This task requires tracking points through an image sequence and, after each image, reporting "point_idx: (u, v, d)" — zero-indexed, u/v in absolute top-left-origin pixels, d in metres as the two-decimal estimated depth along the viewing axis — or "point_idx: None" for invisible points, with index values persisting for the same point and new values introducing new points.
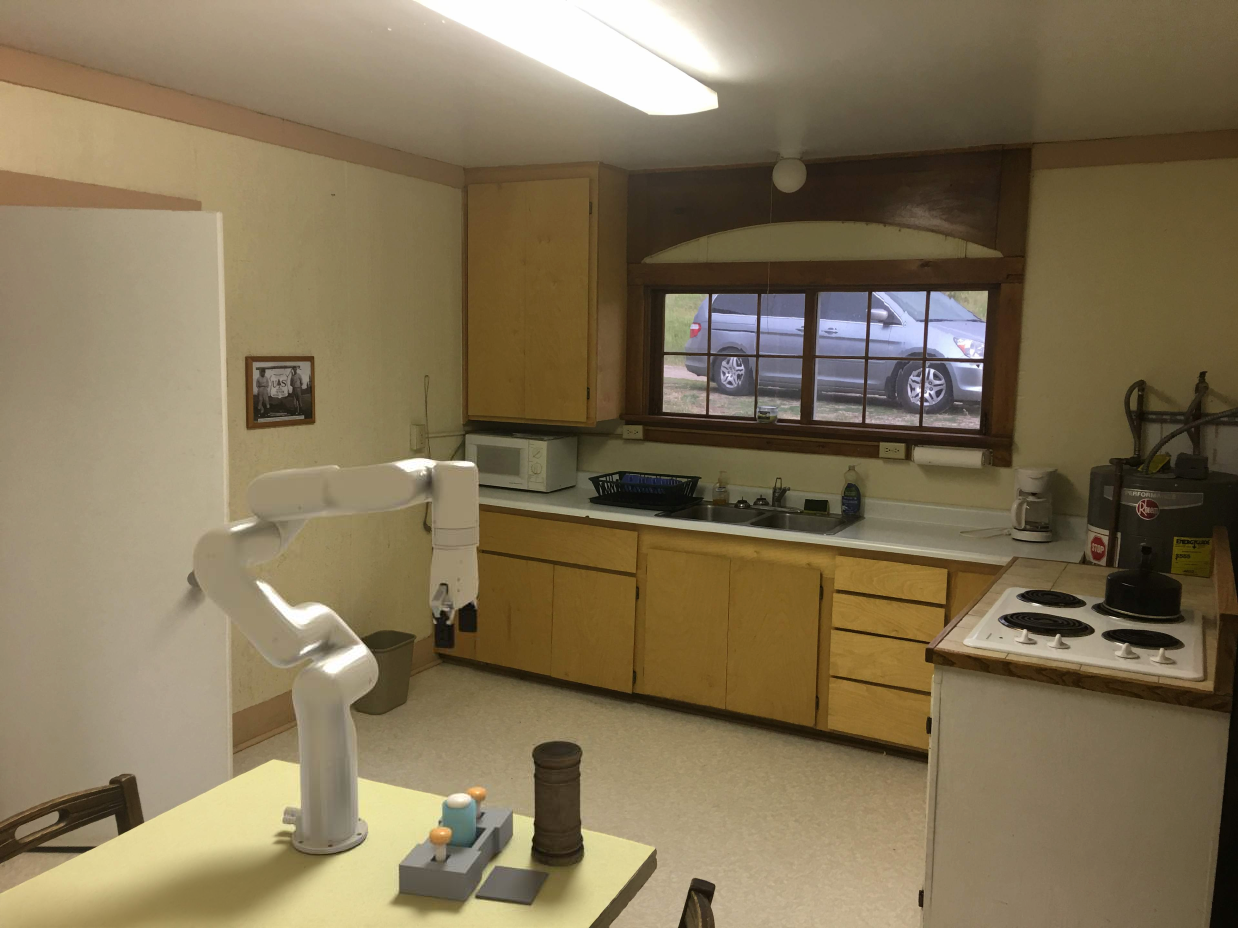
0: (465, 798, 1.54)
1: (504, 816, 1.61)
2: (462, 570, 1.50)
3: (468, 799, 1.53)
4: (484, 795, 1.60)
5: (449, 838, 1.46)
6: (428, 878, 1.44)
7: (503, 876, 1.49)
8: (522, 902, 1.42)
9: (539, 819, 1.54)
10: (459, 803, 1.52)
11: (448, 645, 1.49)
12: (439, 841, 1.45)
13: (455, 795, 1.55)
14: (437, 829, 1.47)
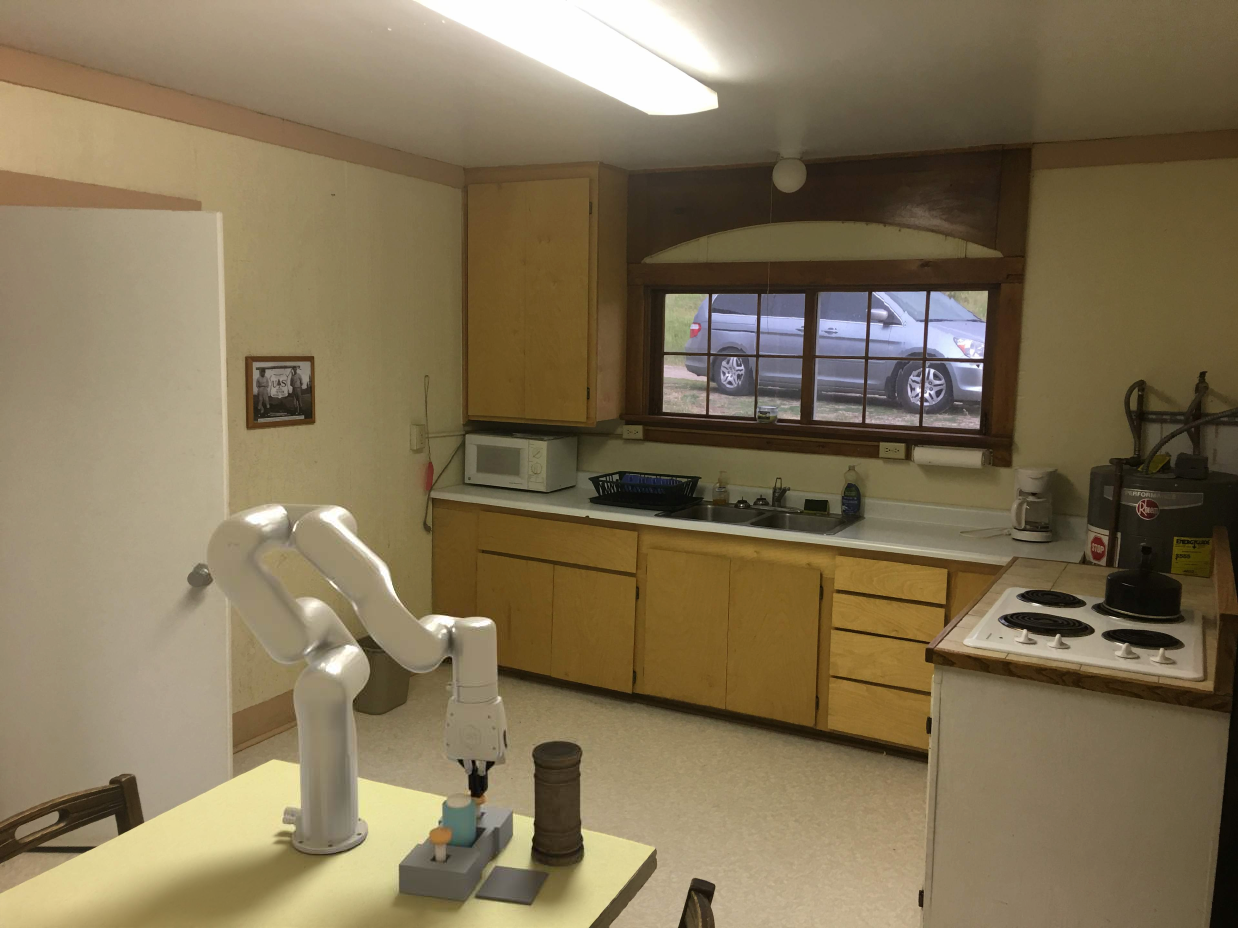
0: (465, 798, 1.54)
1: (504, 816, 1.61)
2: None
3: (468, 799, 1.53)
4: (484, 798, 1.61)
5: (449, 838, 1.46)
6: (428, 878, 1.44)
7: (503, 876, 1.49)
8: (522, 902, 1.42)
9: (539, 819, 1.54)
10: (459, 803, 1.52)
11: None
12: (439, 841, 1.45)
13: (455, 795, 1.55)
14: (437, 829, 1.47)
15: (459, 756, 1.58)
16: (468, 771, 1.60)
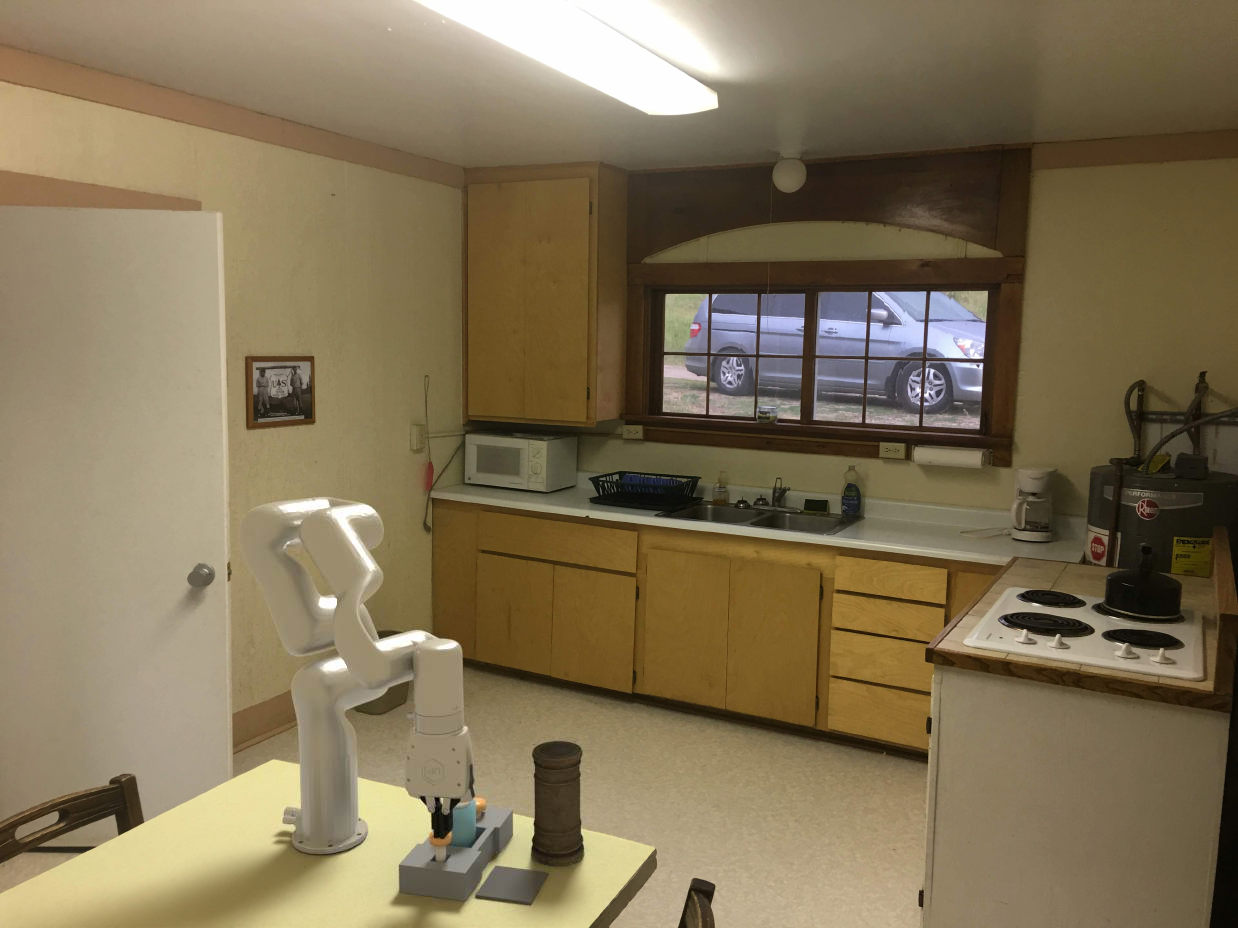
0: None
1: (504, 816, 1.61)
2: None
3: None
4: (484, 806, 1.61)
5: (449, 840, 1.46)
6: (428, 878, 1.44)
7: (503, 876, 1.49)
8: (522, 902, 1.42)
9: (539, 819, 1.54)
10: (459, 803, 1.52)
11: None
12: (439, 843, 1.45)
13: None
14: None
15: (421, 792, 1.43)
16: (431, 809, 1.45)
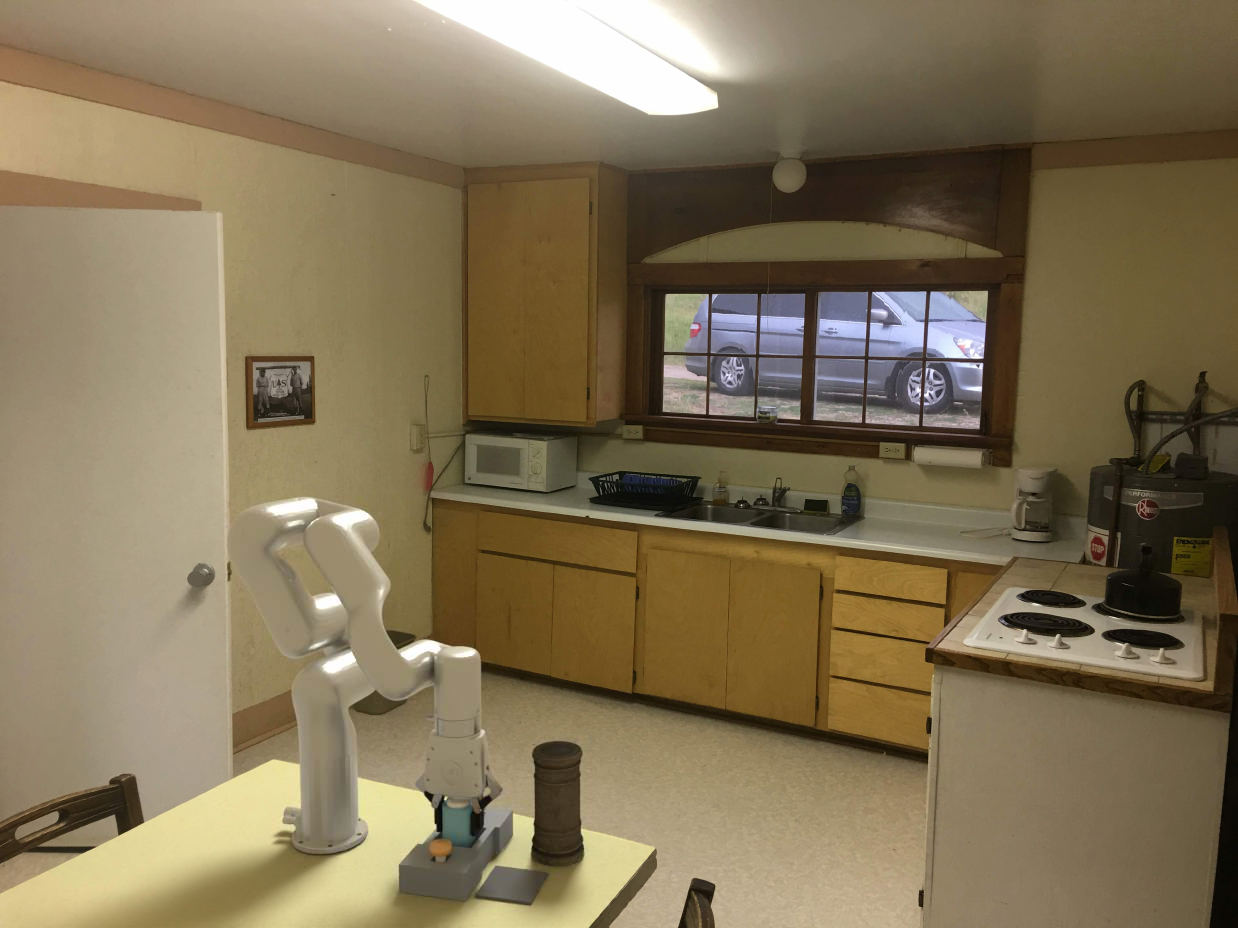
0: (465, 798, 1.54)
1: (504, 816, 1.61)
2: None
3: (468, 799, 1.53)
4: None
5: (449, 850, 1.46)
6: (428, 878, 1.44)
7: (503, 876, 1.49)
8: (522, 902, 1.42)
9: (539, 819, 1.54)
10: (459, 803, 1.52)
11: None
12: (439, 853, 1.45)
13: None
14: (437, 841, 1.48)
15: (439, 792, 1.51)
16: (434, 805, 1.53)
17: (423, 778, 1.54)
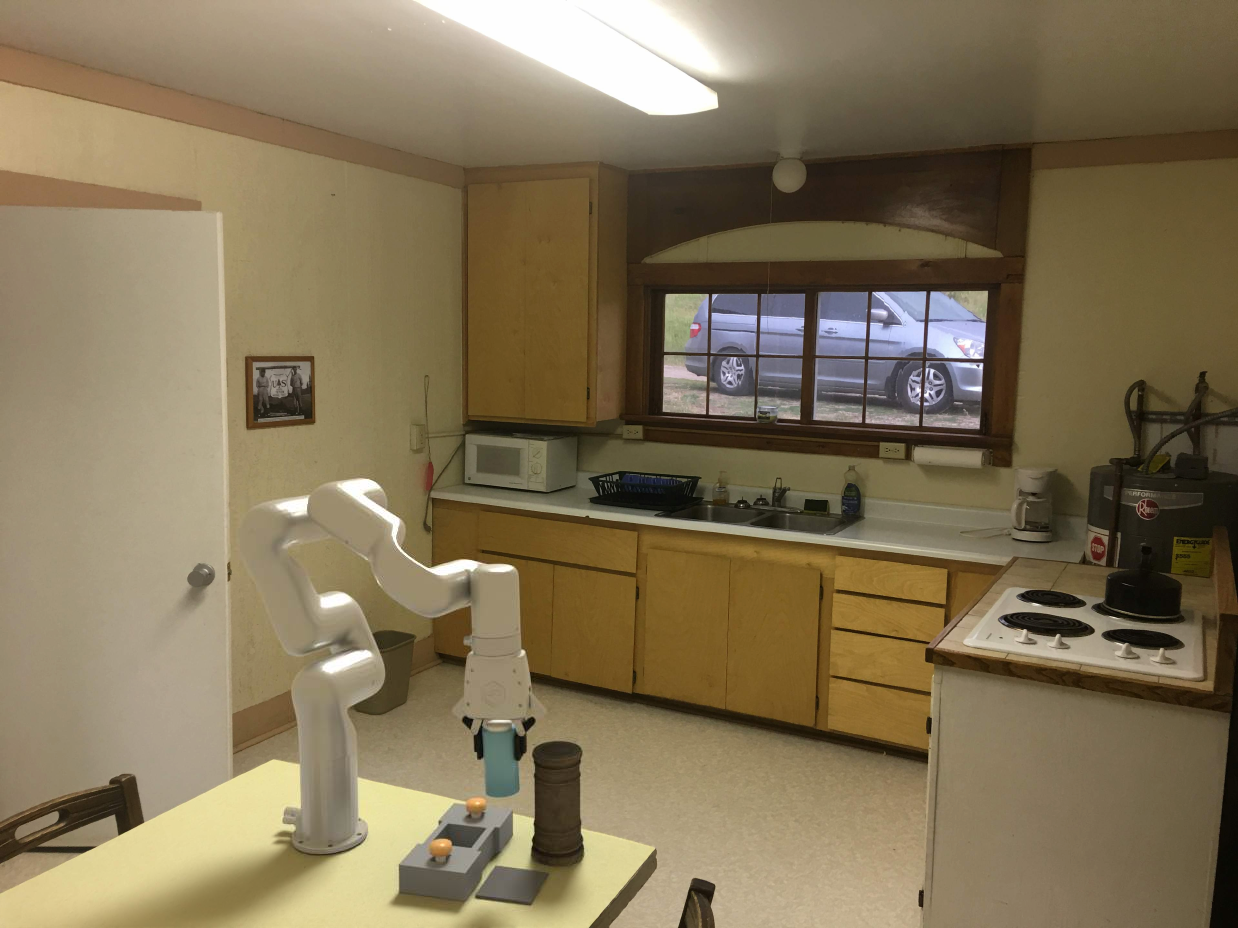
0: (505, 722, 1.47)
1: (504, 816, 1.61)
2: None
3: (509, 723, 1.47)
4: (484, 806, 1.61)
5: (449, 850, 1.46)
6: (428, 878, 1.44)
7: (503, 876, 1.49)
8: (522, 902, 1.42)
9: (539, 819, 1.54)
10: (501, 726, 1.45)
11: None
12: (439, 853, 1.45)
13: (494, 721, 1.48)
14: (437, 841, 1.48)
15: (481, 715, 1.44)
16: (473, 731, 1.46)
17: (461, 704, 1.47)
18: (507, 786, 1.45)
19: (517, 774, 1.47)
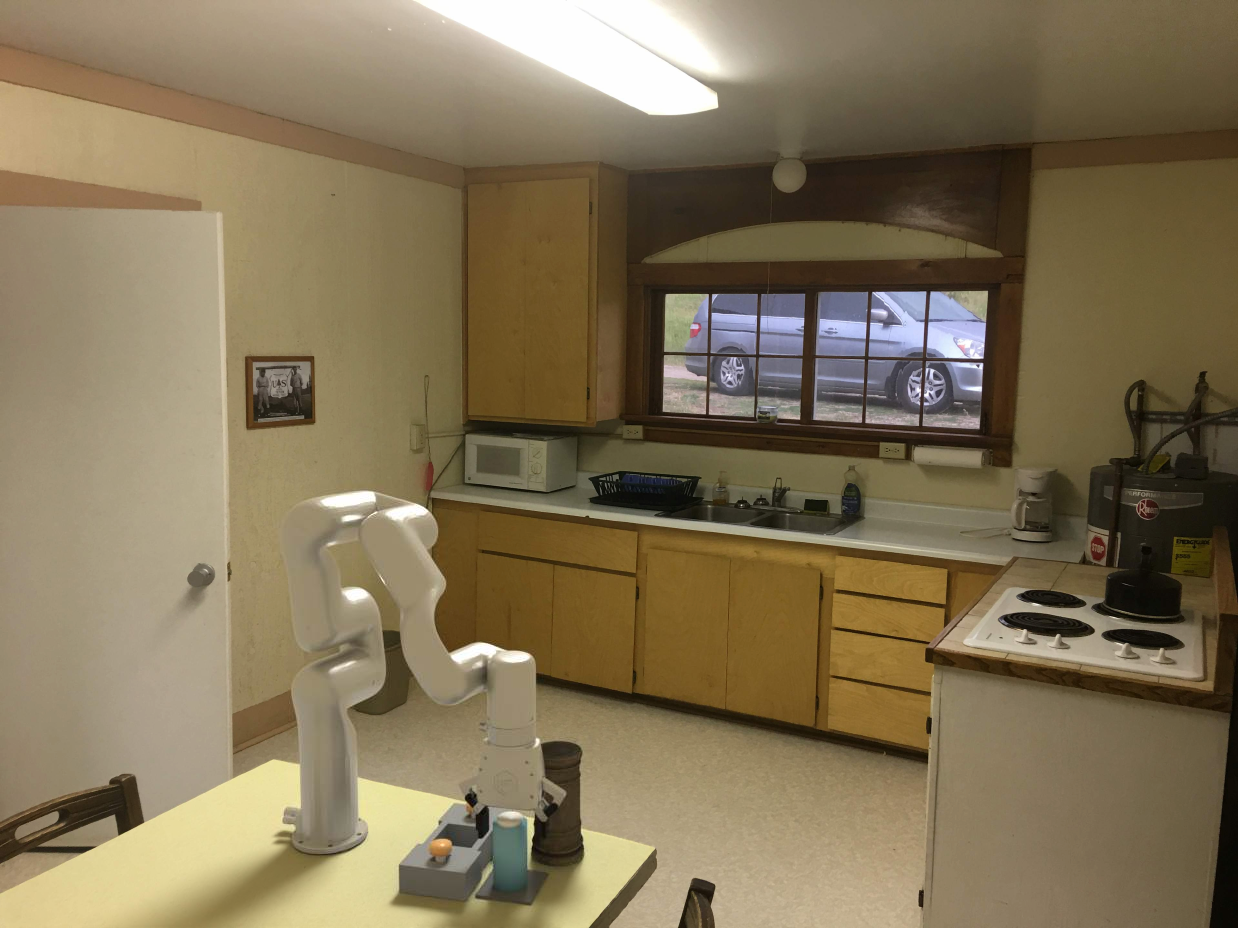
0: (516, 817, 1.46)
1: None
2: None
3: (520, 818, 1.46)
4: None
5: (449, 850, 1.46)
6: (428, 878, 1.44)
7: None
8: (522, 902, 1.42)
9: None
10: (511, 822, 1.45)
11: None
12: (439, 853, 1.45)
13: (505, 813, 1.47)
14: (437, 841, 1.48)
15: (493, 804, 1.44)
16: (475, 810, 1.46)
17: (470, 782, 1.47)
18: (514, 882, 1.45)
19: (525, 869, 1.46)
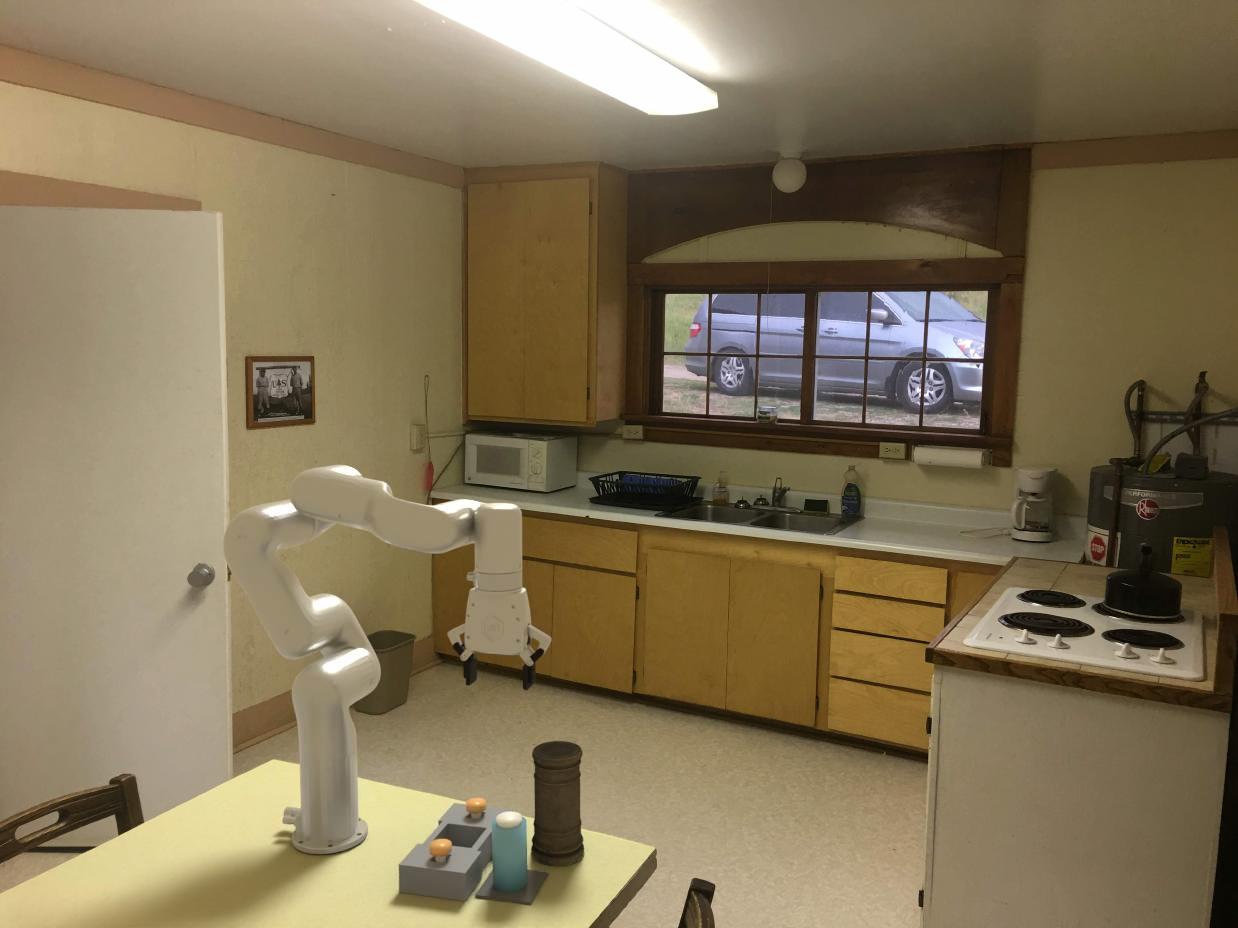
0: (515, 817, 1.46)
1: None
2: None
3: (519, 818, 1.46)
4: (484, 806, 1.61)
5: (449, 850, 1.46)
6: (428, 878, 1.44)
7: None
8: (522, 902, 1.42)
9: (539, 819, 1.54)
10: (510, 823, 1.44)
11: None
12: (439, 853, 1.45)
13: (505, 813, 1.47)
14: (437, 841, 1.48)
15: (480, 649, 1.48)
16: (463, 657, 1.50)
17: (458, 631, 1.51)
18: (514, 882, 1.44)
19: (525, 869, 1.46)
